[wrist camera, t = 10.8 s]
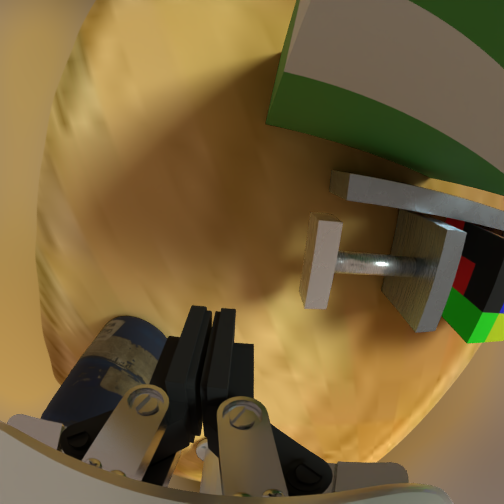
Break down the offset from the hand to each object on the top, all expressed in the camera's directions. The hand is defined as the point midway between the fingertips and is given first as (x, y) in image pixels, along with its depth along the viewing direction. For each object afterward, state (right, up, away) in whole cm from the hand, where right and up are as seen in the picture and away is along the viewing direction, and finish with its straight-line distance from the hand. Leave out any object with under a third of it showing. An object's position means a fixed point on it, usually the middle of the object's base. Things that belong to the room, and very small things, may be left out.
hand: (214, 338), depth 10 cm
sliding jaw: (+12, +4, +15) cm, 19 cm away
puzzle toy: (+27, +2, +16) cm, 32 cm away
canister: (-12, -8, +20) cm, 24 cm away
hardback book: (+12, +16, +11) cm, 23 cm away
